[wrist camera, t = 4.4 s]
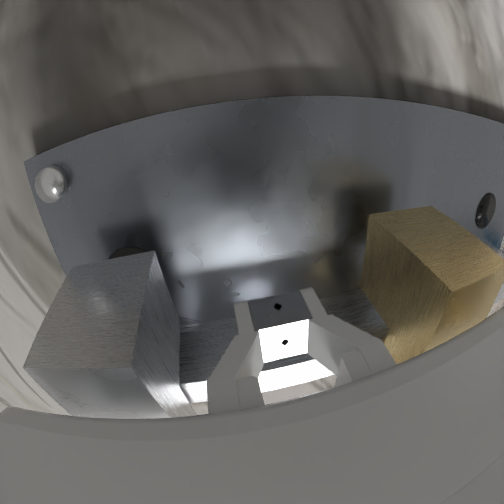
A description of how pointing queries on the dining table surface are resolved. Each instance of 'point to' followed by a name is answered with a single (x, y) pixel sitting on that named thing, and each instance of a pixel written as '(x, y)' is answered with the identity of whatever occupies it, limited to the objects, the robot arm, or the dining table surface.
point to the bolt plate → (265, 191)
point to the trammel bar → (152, 344)
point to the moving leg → (427, 278)
